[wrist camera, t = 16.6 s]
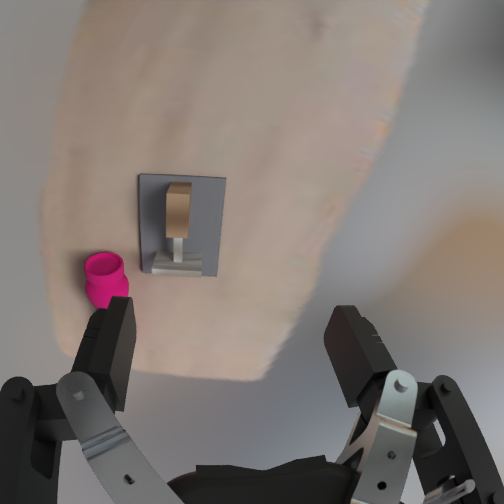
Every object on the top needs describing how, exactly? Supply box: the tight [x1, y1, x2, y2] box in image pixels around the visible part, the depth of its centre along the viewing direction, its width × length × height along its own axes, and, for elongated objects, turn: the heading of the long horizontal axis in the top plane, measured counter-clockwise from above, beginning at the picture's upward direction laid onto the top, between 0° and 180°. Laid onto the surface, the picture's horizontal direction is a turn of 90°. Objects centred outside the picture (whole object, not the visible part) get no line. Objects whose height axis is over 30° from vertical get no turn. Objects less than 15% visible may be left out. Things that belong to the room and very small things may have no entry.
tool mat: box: [140, 174, 226, 277], centre depth 43 cm, size 16×12×1 cm
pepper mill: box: [84, 252, 129, 309], centre depth 45 cm, size 7×7×20 cm
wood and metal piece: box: [152, 182, 202, 277], centre depth 40 cm, size 12×7×5 cm, turn 172°
